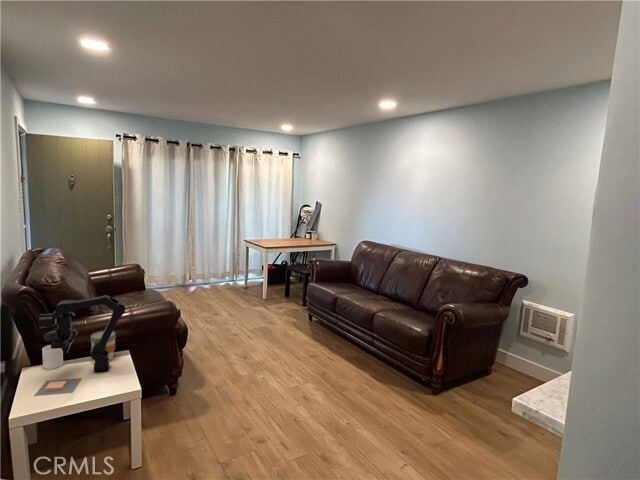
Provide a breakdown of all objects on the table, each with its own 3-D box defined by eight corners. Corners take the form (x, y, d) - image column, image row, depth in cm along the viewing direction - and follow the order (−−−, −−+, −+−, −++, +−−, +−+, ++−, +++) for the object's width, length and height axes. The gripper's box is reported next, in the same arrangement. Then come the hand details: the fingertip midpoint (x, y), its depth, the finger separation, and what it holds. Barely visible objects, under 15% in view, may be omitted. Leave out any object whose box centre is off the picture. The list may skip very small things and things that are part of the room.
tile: (66, 380, 183) (61, 387, 177) (66, 383, 183) (62, 390, 177) (50, 382, 181) (45, 388, 175) (50, 385, 181) (45, 391, 175)
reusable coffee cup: (92, 366, 202) (91, 340, 200) (90, 357, 212) (89, 332, 210) (117, 361, 210) (117, 336, 208) (114, 352, 220) (114, 328, 218)
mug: (65, 366, 200) (64, 347, 198) (45, 372, 193) (44, 352, 192) (59, 359, 208) (58, 340, 206) (39, 364, 201) (39, 345, 200)
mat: (82, 379, 189) (82, 378, 189) (72, 393, 176) (72, 392, 176) (46, 381, 185) (46, 380, 184) (33, 397, 171) (33, 396, 171)
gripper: (53, 319, 194) (55, 347, 196) (37, 333, 176) (39, 363, 178) (77, 318, 197) (78, 346, 199) (64, 332, 179) (65, 362, 182)
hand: (65, 354), depth 190 cm, fingers closed
